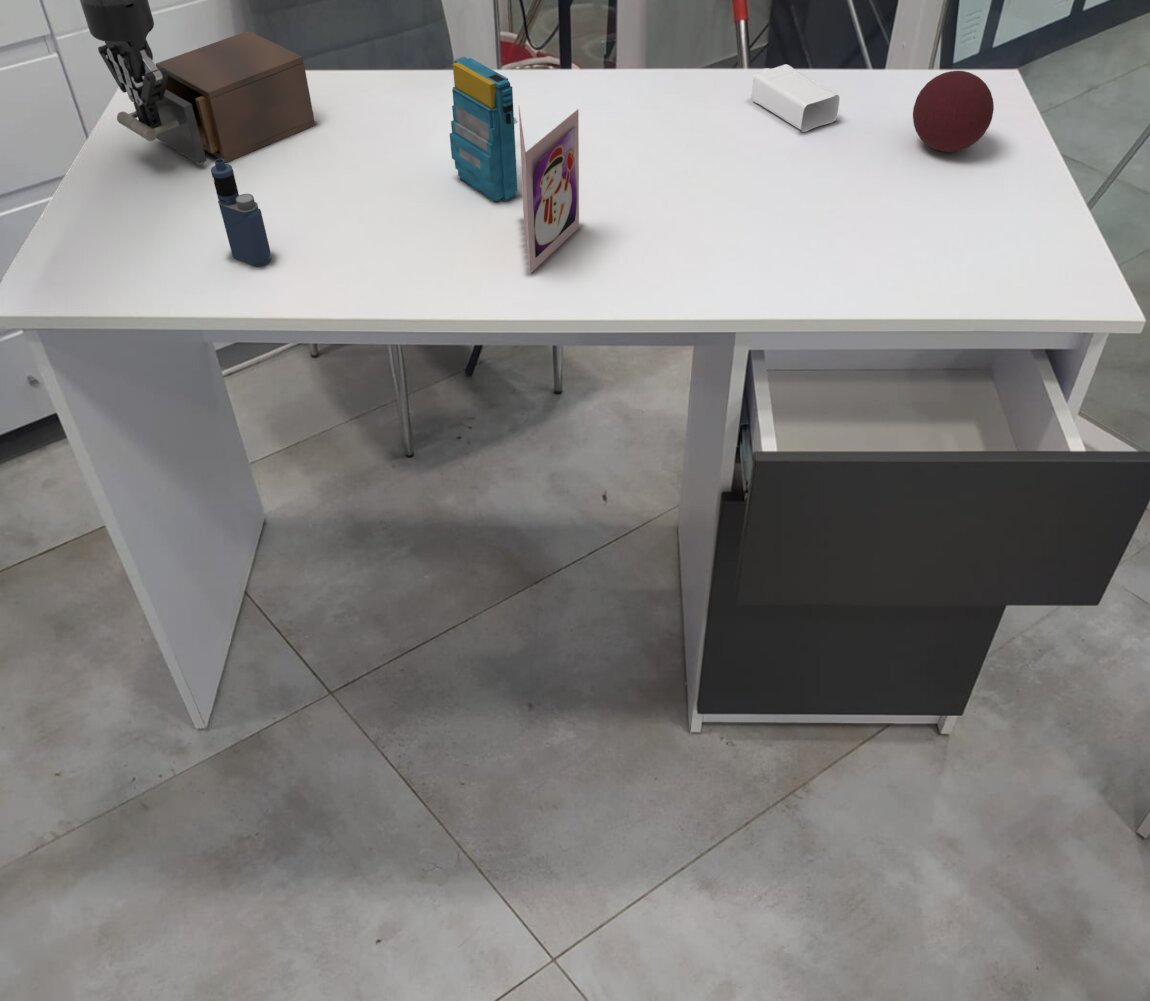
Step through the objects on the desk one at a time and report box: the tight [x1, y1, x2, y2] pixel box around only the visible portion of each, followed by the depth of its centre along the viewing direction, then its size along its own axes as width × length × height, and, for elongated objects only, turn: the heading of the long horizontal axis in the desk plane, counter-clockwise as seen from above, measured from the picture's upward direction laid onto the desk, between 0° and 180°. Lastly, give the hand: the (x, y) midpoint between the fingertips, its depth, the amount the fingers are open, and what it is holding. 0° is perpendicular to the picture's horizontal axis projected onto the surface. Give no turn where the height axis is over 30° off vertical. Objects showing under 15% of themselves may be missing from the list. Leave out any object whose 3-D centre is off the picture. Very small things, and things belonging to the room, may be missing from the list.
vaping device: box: [210, 158, 272, 267], centre depth 126 cm, size 3×5×12 cm, turn 59°
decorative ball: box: [912, 70, 995, 153], centre depth 145 cm, size 10×10×10 cm
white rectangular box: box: [750, 63, 840, 133], centre depth 155 cm, size 6×13×4 cm, turn 31°
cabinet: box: [154, 30, 316, 164], centre depth 150 cm, size 15×13×10 cm
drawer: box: [116, 76, 220, 165], centre depth 147 cm, size 18×11×8 cm, turn 136°
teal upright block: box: [449, 56, 518, 203], centre depth 137 cm, size 10×4×15 cm, turn 40°
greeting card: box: [518, 106, 580, 274], centre depth 127 cm, size 11×7×15 cm, turn 151°
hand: (152, 128), depth 144 cm, fingers closed
